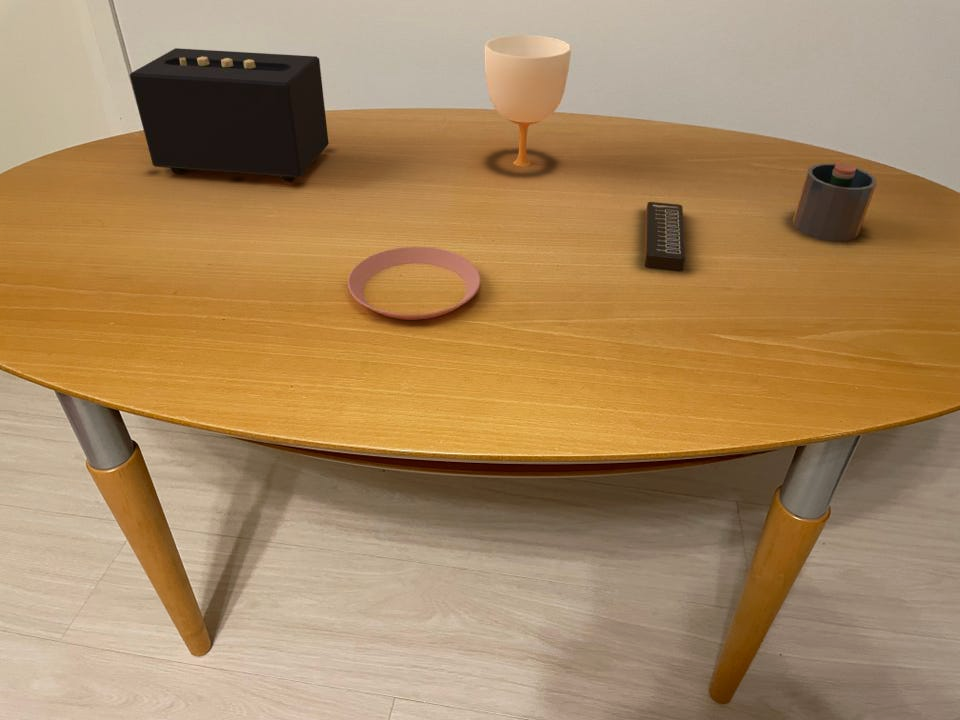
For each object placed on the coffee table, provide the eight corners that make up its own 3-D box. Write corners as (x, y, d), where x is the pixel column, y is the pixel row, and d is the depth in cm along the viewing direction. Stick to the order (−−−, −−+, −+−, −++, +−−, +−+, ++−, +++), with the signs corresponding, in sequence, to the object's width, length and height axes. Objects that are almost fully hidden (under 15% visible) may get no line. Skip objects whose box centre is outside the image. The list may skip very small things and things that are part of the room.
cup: (550, 188, 104) (561, 61, 94) (471, 176, 107) (472, 52, 96) (569, 157, 113) (580, 39, 103) (495, 147, 116) (498, 31, 105)
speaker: (330, 154, 113) (319, 50, 103) (302, 188, 102) (286, 77, 93) (195, 144, 115) (173, 41, 106) (154, 177, 105) (126, 67, 96)
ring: (492, 323, 77) (493, 307, 76) (353, 337, 74) (352, 321, 73) (467, 256, 88) (467, 241, 87) (345, 267, 86) (343, 251, 84)
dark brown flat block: (643, 272, 86) (646, 254, 84) (644, 217, 97) (647, 200, 96) (682, 276, 85) (685, 258, 84) (679, 220, 96) (682, 204, 95)
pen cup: (854, 223, 97) (874, 168, 92) (858, 250, 91) (879, 193, 86) (791, 213, 99) (807, 159, 94) (791, 239, 93) (808, 183, 88)
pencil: (835, 224, 95) (855, 164, 90) (836, 233, 93) (857, 172, 88) (815, 221, 96) (834, 162, 91) (815, 229, 94) (834, 169, 89)
